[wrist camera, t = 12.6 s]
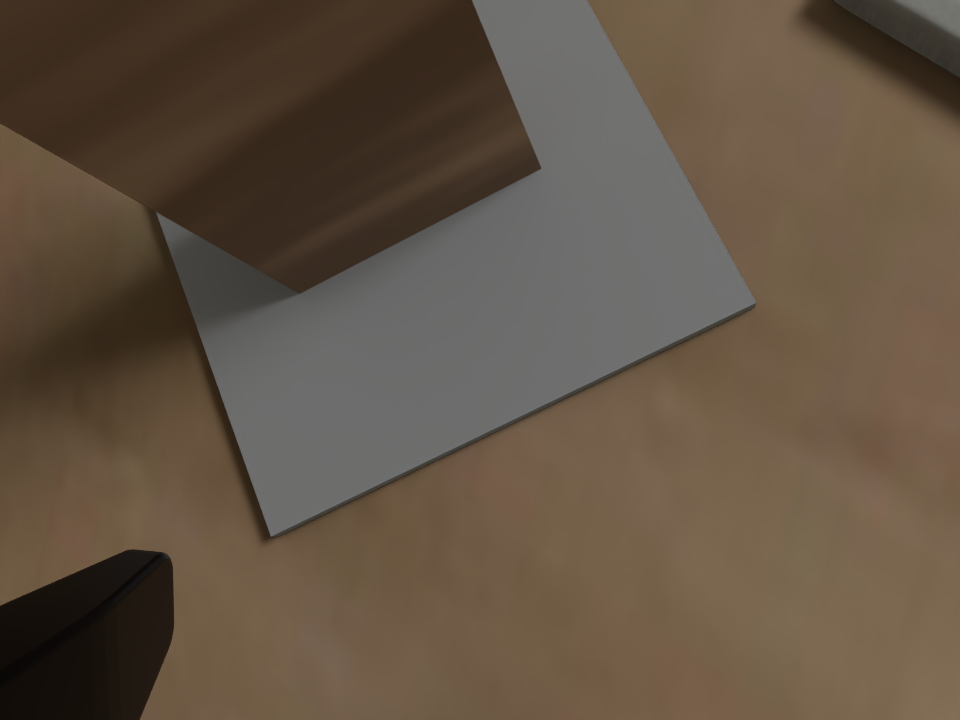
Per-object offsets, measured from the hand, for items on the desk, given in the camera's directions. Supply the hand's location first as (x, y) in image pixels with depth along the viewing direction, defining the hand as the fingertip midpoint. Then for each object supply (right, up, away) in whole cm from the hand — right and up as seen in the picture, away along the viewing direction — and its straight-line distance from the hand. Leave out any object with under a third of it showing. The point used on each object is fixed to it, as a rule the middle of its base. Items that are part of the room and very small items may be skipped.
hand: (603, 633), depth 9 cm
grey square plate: (-3, +7, +12) cm, 14 cm away
